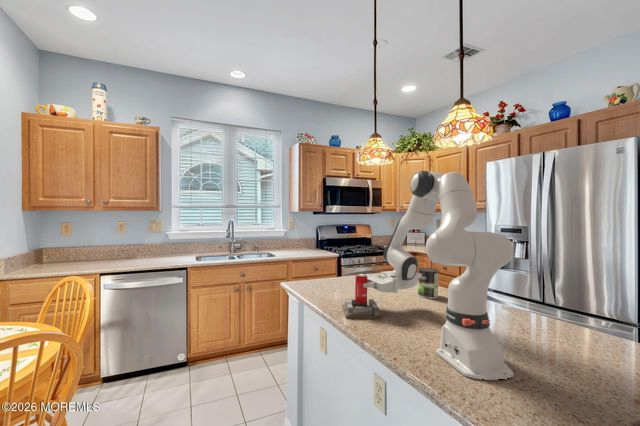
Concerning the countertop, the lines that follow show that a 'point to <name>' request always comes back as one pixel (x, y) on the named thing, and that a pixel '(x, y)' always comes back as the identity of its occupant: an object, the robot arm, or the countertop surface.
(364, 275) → the beverage can
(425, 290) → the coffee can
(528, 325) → the countertop surface
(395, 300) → the countertop surface
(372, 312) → the socket block
